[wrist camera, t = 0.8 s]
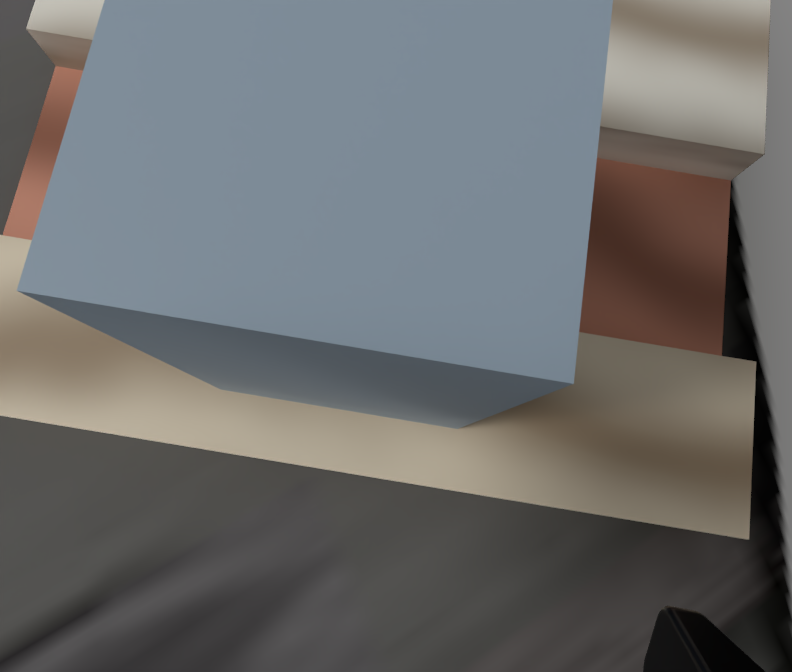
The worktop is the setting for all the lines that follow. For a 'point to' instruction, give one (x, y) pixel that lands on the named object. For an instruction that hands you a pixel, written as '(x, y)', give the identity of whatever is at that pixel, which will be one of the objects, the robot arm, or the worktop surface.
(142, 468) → the worktop surface
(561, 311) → the slate block
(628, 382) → the trap board
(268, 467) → the worktop surface
